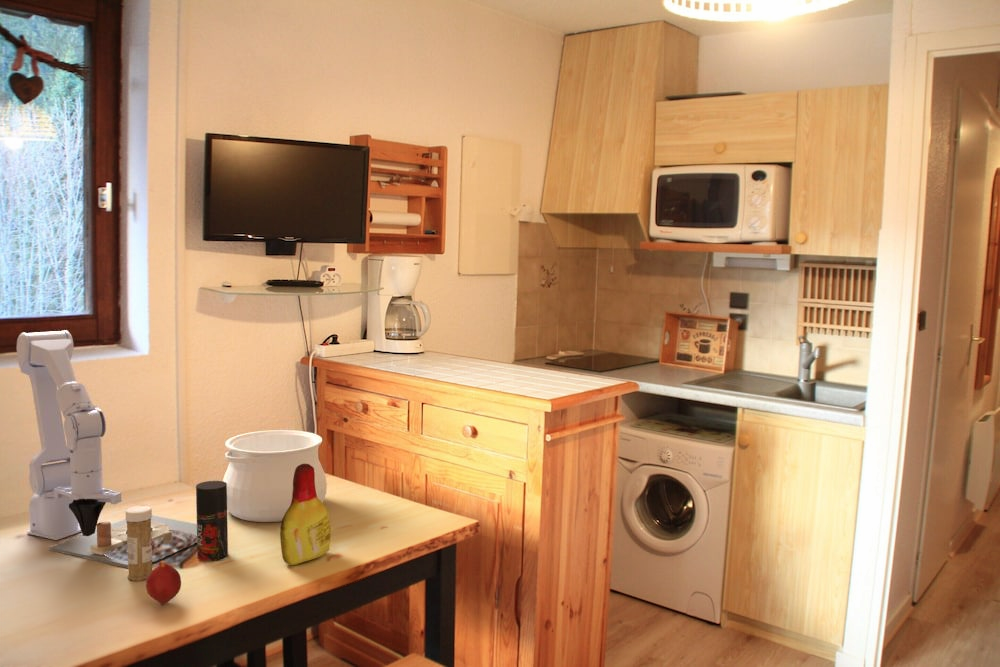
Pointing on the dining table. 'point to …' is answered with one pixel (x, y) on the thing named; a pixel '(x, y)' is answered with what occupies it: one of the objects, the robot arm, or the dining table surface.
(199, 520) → the deodorant
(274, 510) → the pot
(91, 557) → the post board
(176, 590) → the onion
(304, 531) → the bottle
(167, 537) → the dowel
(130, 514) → the sprinkles bottle
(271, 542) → the dining table surface
